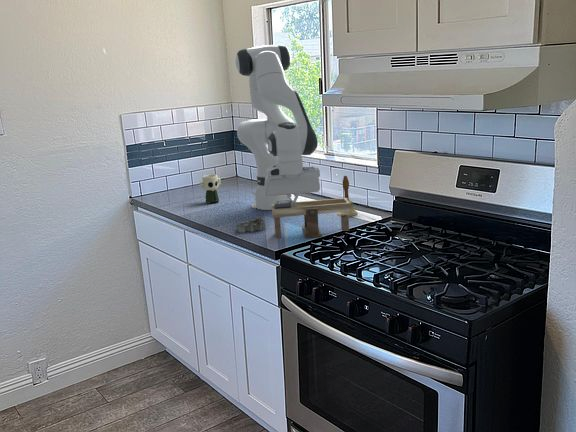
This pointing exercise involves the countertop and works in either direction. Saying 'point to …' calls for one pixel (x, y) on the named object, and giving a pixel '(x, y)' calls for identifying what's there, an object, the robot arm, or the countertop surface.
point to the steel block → (282, 204)
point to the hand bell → (346, 187)
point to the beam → (321, 205)
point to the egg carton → (251, 225)
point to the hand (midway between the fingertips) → (293, 205)
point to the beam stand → (312, 224)
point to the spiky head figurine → (210, 187)
